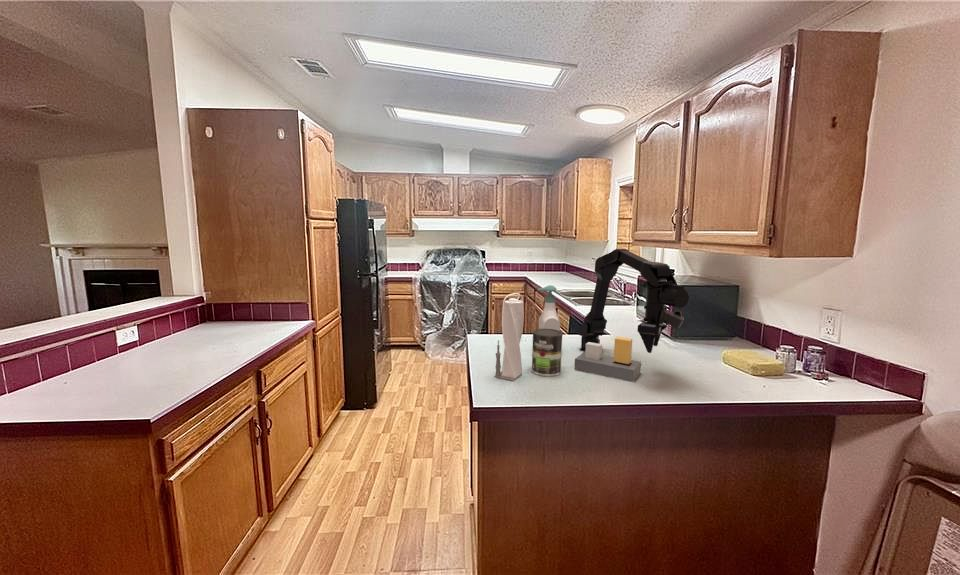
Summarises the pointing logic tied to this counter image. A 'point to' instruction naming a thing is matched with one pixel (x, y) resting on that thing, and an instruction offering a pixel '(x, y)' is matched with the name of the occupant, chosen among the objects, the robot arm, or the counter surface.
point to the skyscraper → (511, 339)
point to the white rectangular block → (593, 351)
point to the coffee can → (547, 352)
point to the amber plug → (623, 350)
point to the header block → (608, 367)
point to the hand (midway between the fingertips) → (652, 349)
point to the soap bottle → (549, 311)
